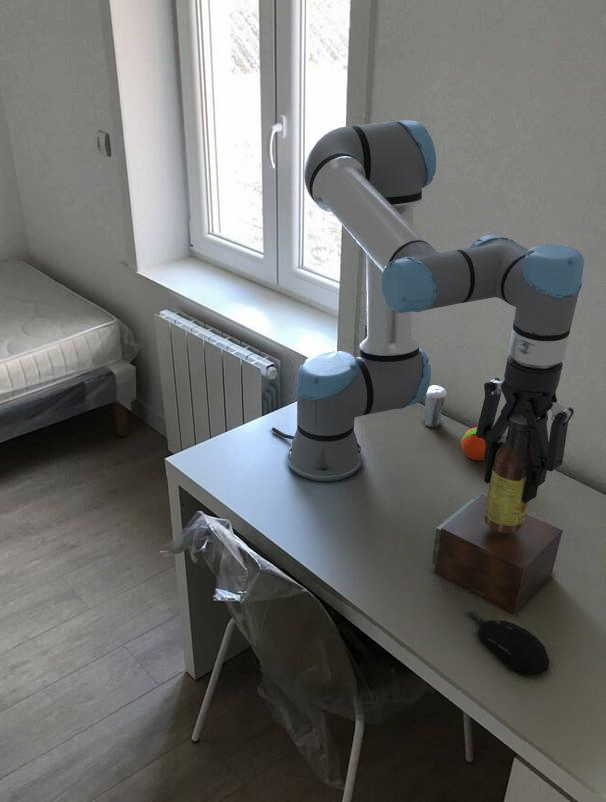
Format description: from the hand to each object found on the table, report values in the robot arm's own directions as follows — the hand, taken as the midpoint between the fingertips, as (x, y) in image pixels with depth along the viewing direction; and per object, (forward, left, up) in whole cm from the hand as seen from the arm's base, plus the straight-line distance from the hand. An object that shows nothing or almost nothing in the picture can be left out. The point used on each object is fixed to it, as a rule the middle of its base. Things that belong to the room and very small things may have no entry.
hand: (509, 488), depth 124 cm
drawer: (-2, 0, -17) cm, 17 cm away
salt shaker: (-39, +30, -18) cm, 53 cm away
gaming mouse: (+11, -12, -18) cm, 24 cm away
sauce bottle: (0, 0, -7) cm, 7 cm away
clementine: (-24, +26, -18) cm, 40 cm away
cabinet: (0, 0, -18) cm, 18 cm away
